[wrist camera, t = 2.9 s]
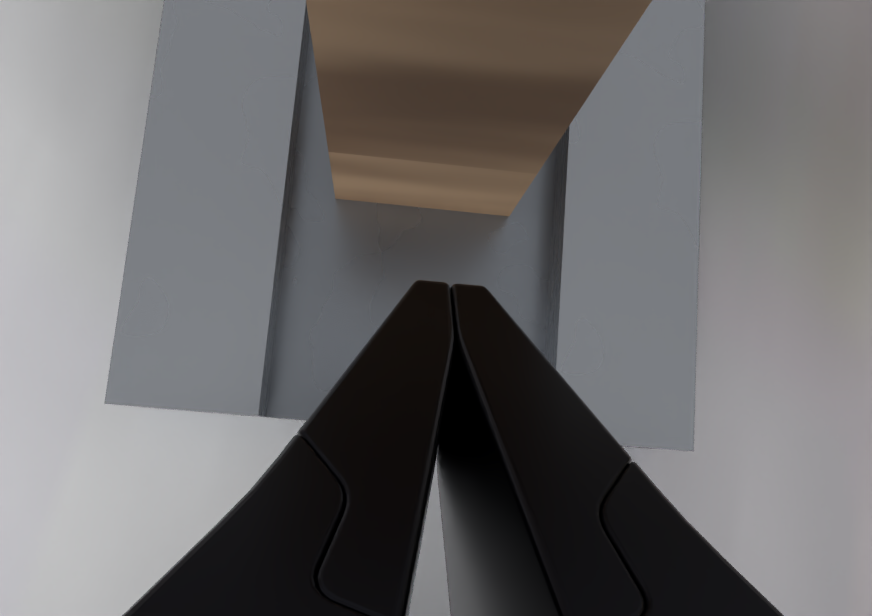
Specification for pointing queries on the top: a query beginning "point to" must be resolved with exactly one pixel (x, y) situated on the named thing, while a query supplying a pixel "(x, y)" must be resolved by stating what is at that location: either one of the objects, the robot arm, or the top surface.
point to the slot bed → (403, 231)
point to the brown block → (456, 92)
